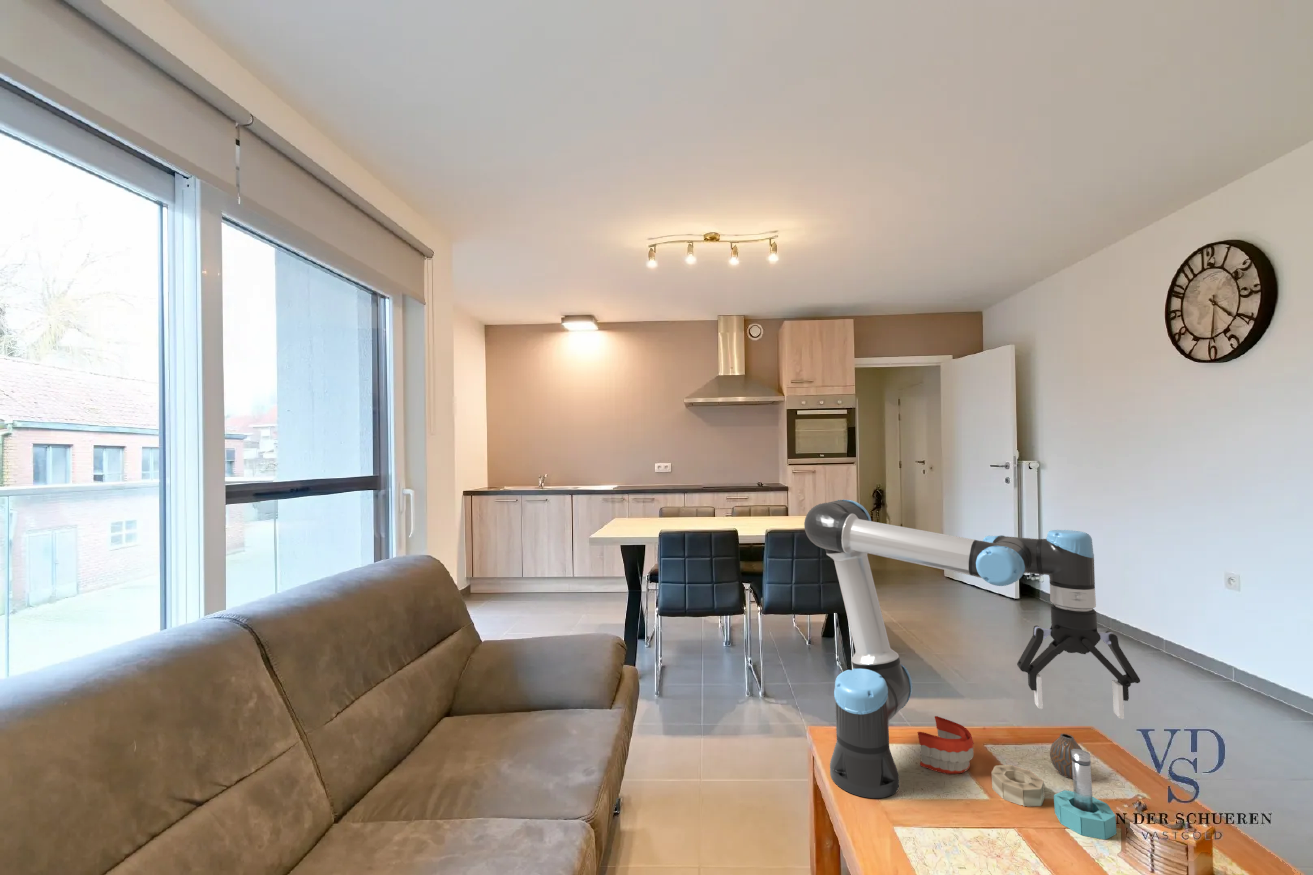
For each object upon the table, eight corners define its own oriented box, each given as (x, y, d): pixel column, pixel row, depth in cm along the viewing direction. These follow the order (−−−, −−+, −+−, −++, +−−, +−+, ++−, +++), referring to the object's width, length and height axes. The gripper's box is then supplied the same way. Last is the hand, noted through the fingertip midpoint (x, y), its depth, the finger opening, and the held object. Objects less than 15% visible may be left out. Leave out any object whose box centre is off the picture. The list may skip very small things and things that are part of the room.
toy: (964, 784, 124) (963, 748, 124) (917, 766, 132) (916, 732, 132) (981, 762, 133) (980, 729, 133) (936, 746, 140) (935, 715, 141)
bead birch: (1011, 806, 116) (1011, 790, 116) (984, 781, 125) (983, 765, 125) (1053, 805, 116) (1053, 788, 116) (1023, 779, 125) (1022, 764, 125)
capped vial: (1078, 825, 109) (1074, 755, 110) (1072, 816, 112) (1068, 747, 113) (1096, 829, 108) (1092, 757, 109) (1090, 819, 111) (1086, 749, 112)
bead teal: (1065, 832, 108) (1064, 814, 108) (1050, 804, 116) (1049, 787, 116) (1122, 842, 104) (1121, 824, 105) (1102, 813, 113) (1101, 795, 113)
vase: (1094, 783, 123) (1092, 744, 123) (1060, 781, 124) (1058, 742, 125) (1077, 766, 130) (1075, 729, 130) (1045, 764, 131) (1043, 727, 131)
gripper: (1007, 606, 113) (1011, 709, 112) (1158, 616, 104) (1164, 728, 103) (998, 597, 120) (1002, 694, 119) (1139, 606, 111) (1145, 711, 110)
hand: (1077, 710), depth 111 cm, fingers open, 13 cm apart
